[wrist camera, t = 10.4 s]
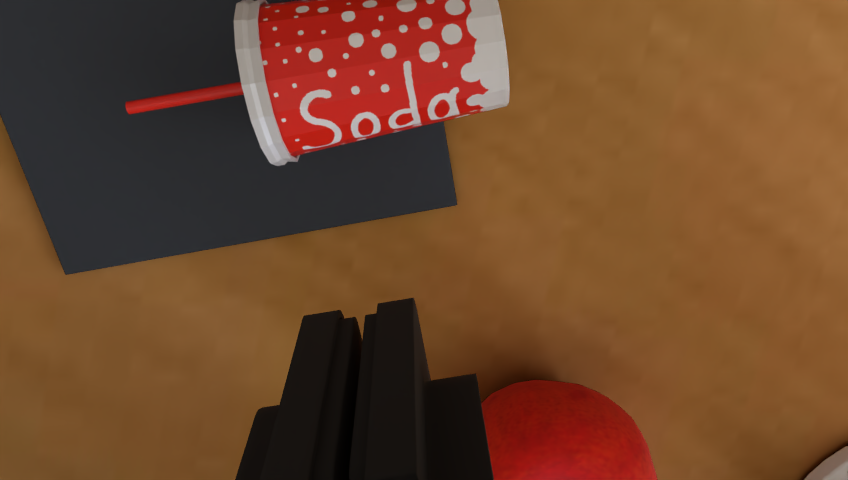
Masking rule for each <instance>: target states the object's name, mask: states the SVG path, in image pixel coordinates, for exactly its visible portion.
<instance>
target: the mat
mask: <svg viewBox="0 0 848 480" xmlns="http://www.w3.org/2000/svg"><path fill="white" fill-rule="evenodd" d="M240 1H242V0H0V115H1V117H2V120H3V122H4V125H5V127H6V130H7V132H8V134H9V137H10V139H11V142H12V144H13V147H14V149H15V152H16V154H17V157H18V159H19V162H20V164H21V166H22V169H23V171H24V174H25V176H26V179H27V181H28V184H29V186H30V189H31V191H32V193H33V196H34V198H35V201H36V203H37V206H38V208H39V211H40V213H41V216H42V218H43V221H44V223H45V225H46V228H47V230H48V233H49V235H50V238H51V240H52V243H53V245H54V248H55V250H56V252H57V255H58V257H59V260H60V262H61V265H62V267H63V270H64V272H65V274H66V275H67V274H73V273H78V272H84V271H90V270H95V269H101V268H106V267H112V266H118V265H123V264H129V263H135V262H140V261H146V260H151V259H157V258H163V257H168V256H174V255H180V254H185V253H191V252H196V251H202V250H208V249H213V248H219V247H224V246H230V245H236V244H241V243H247V242H253V241H258V240H264V239H269V238H275V237H281V236H286V235H292V234H297V233H303V232H309V231H314V230H320V229H326V228H331V227H337V226H342V225H348V224H354V223H359V222H365V221H371V220H376V219H382V218H387V217H393V216H399V215H404V214H410V213H415V212H421V211H427V210H432V209H438V208H444V207H449V206H455V205H457V200H456V194H455V188H454V182H453V176H452V170H451V164H450V158H449V152H448V146H447V140H446V134H445V128H444V122H443V121H441V122H437V123H433V124H428V125H424V126H420V127H416V128H411V129H407V130H403V131H399V132H394V133H390V134H386V135H382V136H377V137H373V138H369V139H365V140H360V141H356V142H352V143H347V144H343V145H339V146H335V147H330V148H326V149H322V150H318V151H313V152H309V153H305V154H301V155H300V156H299V159H298V162H289V161H288V162H287V163H286V164H285V165H280V166H276V165H273V164H271V163H270V162H269V161H268V159H267V157H266V156H265V154H264V152H263V151H262V149H261V147H260V144H259V142H258V139H257V136H256V134H255V131H254V128H253V125H252V123H251V120H250V116H249V112H248V109H247V105H246V101H245V97H244V95H238V96H233V97H227V98H221V99H215V100H210V101H204V102H198V103H192V104H186V105H181V106H175V107H169V108H163V109H158V110H152V111H146V112H140V113H135V114H128V112H127V110H126V106H125V103H126V102H128V101H133V100H139V99H145V98H151V97H156V96H162V95H168V94H174V93H180V92H185V91H191V90H197V89H203V88H208V87H214V86H220V85H226V84H231V83H237V82H241V80H240V74H239V68H238V62H237V56H236V50H235V35H234V15H235V9H236V4H237V3H238V2H240ZM253 1H257V0H253ZM266 1H267V2H268V4H273V3H282V2H291V1H300V0H266Z"/></svg>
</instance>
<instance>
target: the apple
mask: <svg viewBox="0 0 848 480" xmlns="http://www.w3.org/2000/svg"><path fill="white" fill-rule="evenodd" d="M481 405H482V411H483V417H484V423H485V429H486V435H487V441H488V447H489V453H490V459H491V465H492V471H493V477H494V480H658V479H657V476H656V473H655V469H654V466H653V462H652V459H651V455H650V452H649V449H648V445H647V443H646V441H645V439H644V437H643V435H642V433H641V431H640V430H639V428H638V427H637V425H636V424H635V422H634V420H633V419H632V417H631V416H629V415H628V414H627V413H626V412H625V411H624V410H623V409H622V408H621V407H619V406H618V405H617V404H615V403H614V402H613V401H612V400H610V399H609V398H608V397H606V396H604V395H602V394H600V393H598V392H597V391H594V390H592V389H589V388H587V387H584V386H582V385H579V384H573V383H566V382H558V381H547V380H531V381H524V382H518V383H513V384H511V385H509V386H507V387H505V388H502V389H500V390H498V391H496V392H494V393H492V394H491V395H490V396H489V397H488V398H486V399H485V400H484V401H483V402H482V403H481Z"/></svg>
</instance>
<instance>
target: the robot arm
mask: <svg viewBox="0 0 848 480" xmlns="http://www.w3.org/2000/svg"><path fill="white" fill-rule="evenodd" d="M235 480H494V477H493V471H492V465H491V459H490V453H489V447H488V441H487V435H486V429H485V423H484V417H483V411H482V405H481V399H480V393H479V388H478V382H477V376H476V374H470V375H463V376H457V377H451V378H445V379H438V380H432V381H431V379H430V374H429V369H428V364H427V359H426V354H425V349H424V344H423V339H422V334H421V329H420V324H419V319H418V314H417V309H416V304H415V300H414V298H409V299H403V300H397V301H391V302H385V303H379V304H378V306H377V313H376V314H370V315H365V322H364V332H363V341H362V338H361V334H360V330H359V326H358V322H357V319H356V318H355V317H352V318H346V319H344V316H343V314H342V312H341V310H337V311H330V312H324V313H318V314H312V315H306V316H304V317H303V319H302V323H301V327H300V331H299V334H298V338H297V342H296V346H295V349H294V353H293V357H292V360H291V364H290V368H289V372H288V375H287V379H286V383H285V387H284V390H283V394H282V398H281V402H280V405H276V406H270V407H264V408H261V409H259V410H258V411H257V413H256V415H255V418H254V421H253V425H252V428H251V431H250V434H249V437H248V441H247V444H246V447H245V450H244V453H243V457H242V460H241V463H240V466H239V469H238V473H237V476H236V479H235ZM804 480H848V446H846V447H844V448H842V449H841V450H839V451H838V452H836V453H835V454H833V455H832V456H830V457H828V458H827V459H825V460H824V461H823V462H822V463H821V464H820V465H819V466H817V467H816V468H815V469H814V470H813V471H812V472H811V473H809V474H808V476H807V477H806V478H805V479H804Z"/></svg>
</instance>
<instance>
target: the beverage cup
mask: <svg viewBox="0 0 848 480" xmlns="http://www.w3.org/2000/svg"><path fill="white" fill-rule="evenodd" d="M234 35H235V50H236V56H237V62H238V68H239V74H240V80H241V82H237V83H231V84H226V85H220V86H214V87H208V88H203V89H197V90H191V91H185V92H180V93H174V94H168V95H162V96H156V97H151V98H145V99H139V100H133V101H128V102H126V103H125V106H126V110H127V112H128V114H135V113H140V112H146V111H152V110H158V109H163V108H169V107H175V106H181V105H186V104H192V103H198V102H204V101H210V100H215V99H221V98H227V97H233V96H238V95H244V97H245V101H246V105H247V109H248V112H249V116H250V120H251V123H252V125H253V128H254V131H255V134H256V136H257V139H258V142H259V144H260V147H261V149H262V151H263V152H264V154H265V156H266V157H267V159H268V161H269V162H270V163H271V164H273V165H276V166H280V165H285V164H286V163H287V162H288V161H289V162H298V159H299V156H300V155H301V154H305V153H309V152H313V151H318V150H322V149H326V148H330V147H335V146H339V145H343V144H347V143H352V142H356V141H360V140H365V139H369V138H373V137H377V136H382V135H386V134H390V133H394V132H399V131H403V130H407V129H411V128H416V127H420V126H424V125H428V124H433V123H437V122H441V121H446V120H450V119H454V118H458V117H463V116H467V115H471V114H475V113H480V112H484V111H488V110H492V109H497V108H501V107H505V106H507V105H508V103H509V92H510V86H509V70H508V60H507V51H506V43H505V36H504V30H503V24H502V18H501V13H500V8H499V4H498V0H300V1H291V2H282V3H273V4H268V2H267V1H266V0H257V1H253V0H242V1H240V2H238V3H237V4H236V9H235V15H234Z"/></svg>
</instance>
